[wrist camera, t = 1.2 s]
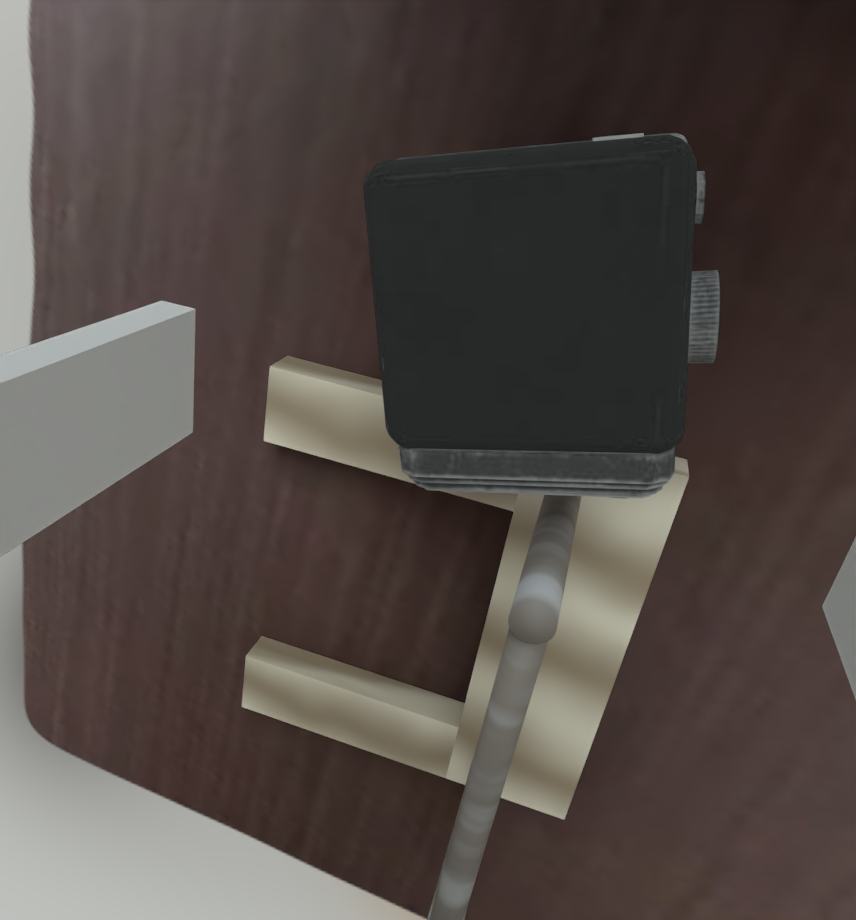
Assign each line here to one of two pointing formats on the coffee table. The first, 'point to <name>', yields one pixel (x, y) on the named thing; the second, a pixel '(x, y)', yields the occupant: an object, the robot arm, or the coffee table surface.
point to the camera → (540, 313)
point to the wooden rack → (503, 639)
